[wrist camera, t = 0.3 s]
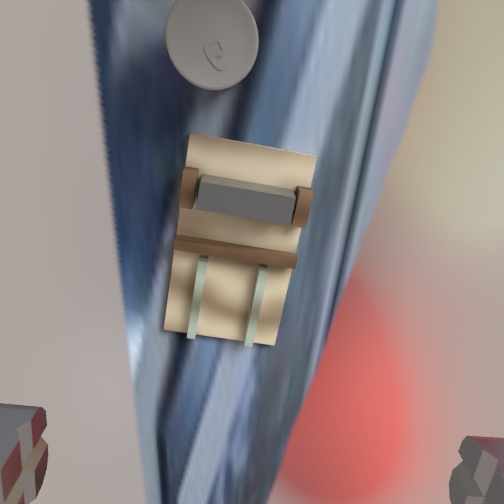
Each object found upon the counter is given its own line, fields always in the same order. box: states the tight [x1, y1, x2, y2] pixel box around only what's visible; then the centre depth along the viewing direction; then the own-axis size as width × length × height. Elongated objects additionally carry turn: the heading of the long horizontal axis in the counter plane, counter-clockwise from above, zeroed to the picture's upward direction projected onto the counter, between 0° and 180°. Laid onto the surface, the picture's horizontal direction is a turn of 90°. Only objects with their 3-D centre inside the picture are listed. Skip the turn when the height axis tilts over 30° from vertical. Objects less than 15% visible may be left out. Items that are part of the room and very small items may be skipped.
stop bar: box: [196, 174, 296, 225], centre depth 51 cm, size 10×3×4 cm, turn 80°
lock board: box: [164, 133, 317, 347], centre depth 55 cm, size 24×14×4 cm, turn 170°
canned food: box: [165, 0, 259, 90], centre depth 44 cm, size 8×8×11 cm
